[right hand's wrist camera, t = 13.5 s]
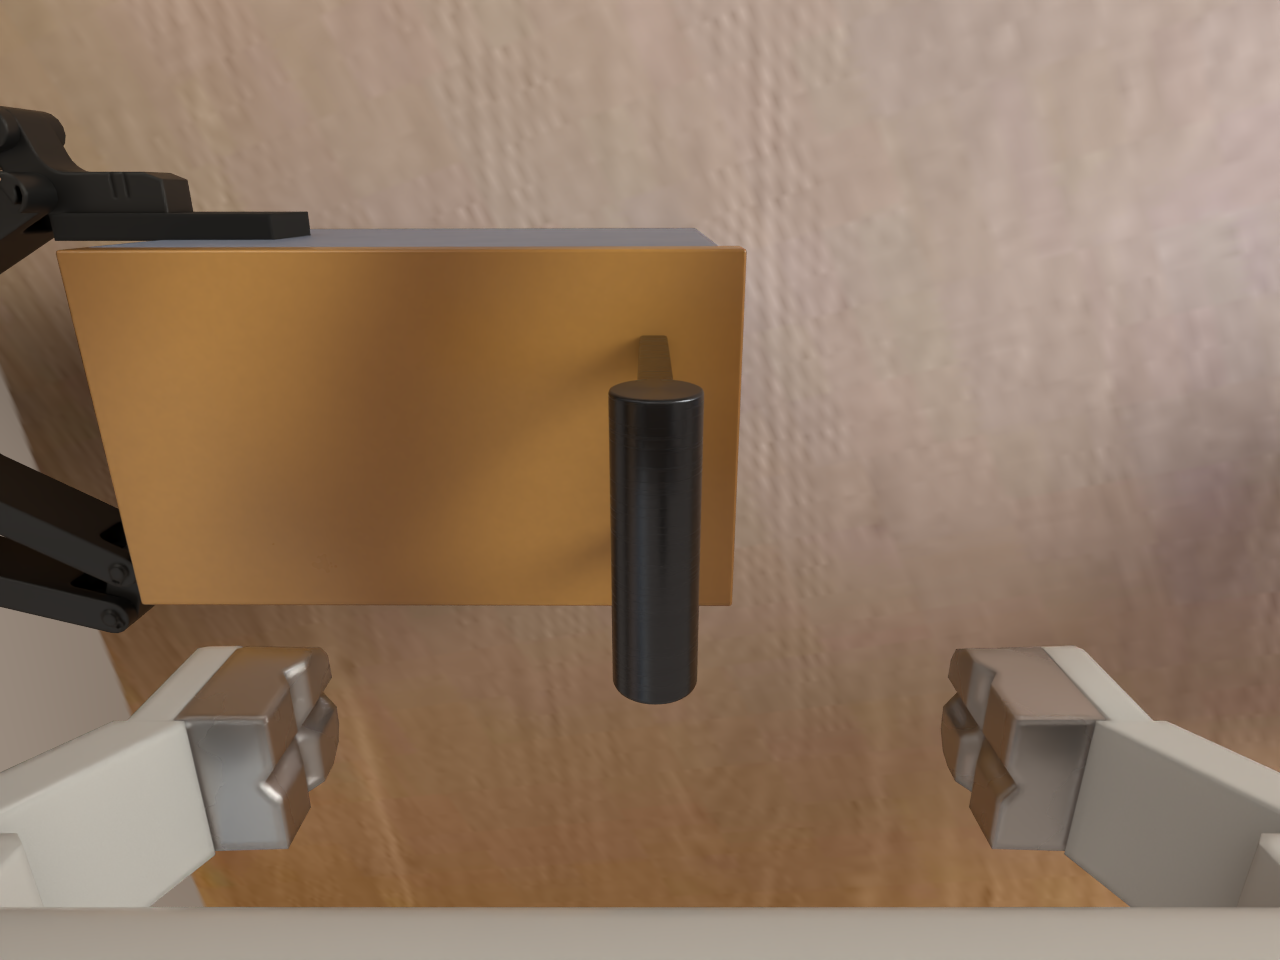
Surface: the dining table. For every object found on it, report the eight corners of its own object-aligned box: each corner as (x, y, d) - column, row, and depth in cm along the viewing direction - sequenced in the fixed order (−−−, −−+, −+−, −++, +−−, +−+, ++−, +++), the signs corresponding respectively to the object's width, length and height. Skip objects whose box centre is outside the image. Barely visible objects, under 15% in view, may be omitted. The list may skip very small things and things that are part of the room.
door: (742, 245, 20) (802, 280, 12) (728, 587, 23) (768, 788, 16) (85, 247, 20) (-274, 282, 12) (164, 586, 24) (-79, 784, 16)
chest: (695, 228, 30) (719, 245, 20) (691, 468, 33) (709, 587, 23) (272, 229, 30) (86, 247, 20) (309, 468, 34) (165, 585, 24)
